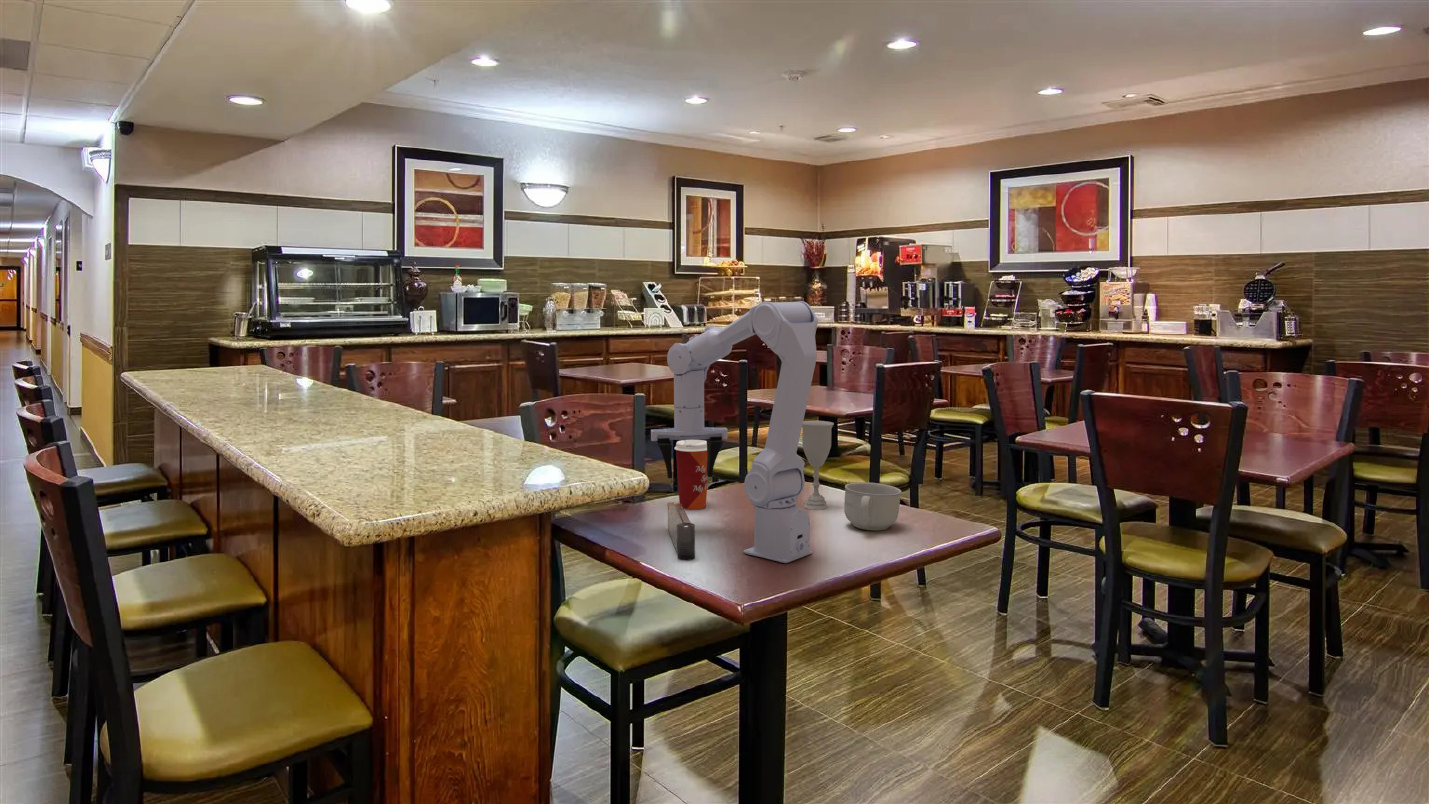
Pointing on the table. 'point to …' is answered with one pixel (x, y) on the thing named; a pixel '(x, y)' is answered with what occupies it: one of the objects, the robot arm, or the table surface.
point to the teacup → (871, 505)
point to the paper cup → (692, 473)
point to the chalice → (816, 455)
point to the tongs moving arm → (673, 523)
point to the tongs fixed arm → (685, 536)
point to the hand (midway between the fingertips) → (689, 476)
